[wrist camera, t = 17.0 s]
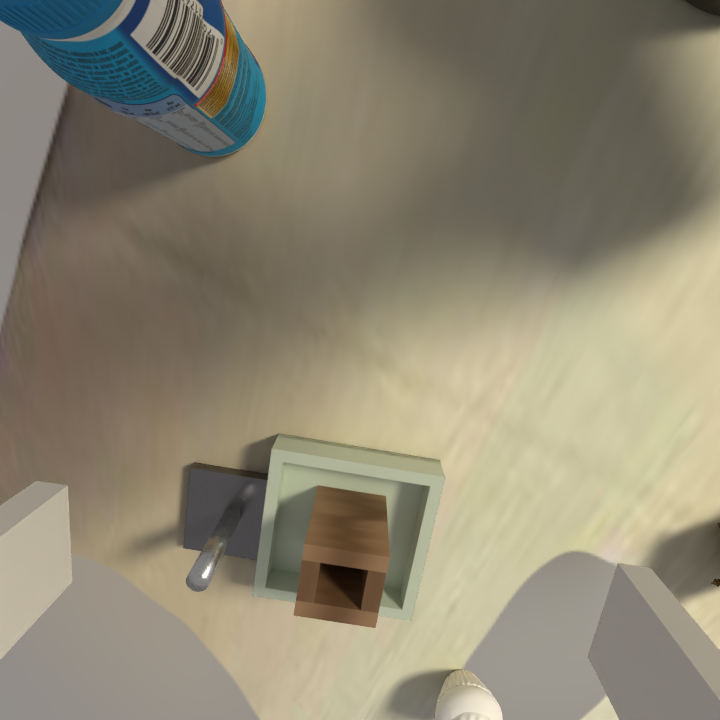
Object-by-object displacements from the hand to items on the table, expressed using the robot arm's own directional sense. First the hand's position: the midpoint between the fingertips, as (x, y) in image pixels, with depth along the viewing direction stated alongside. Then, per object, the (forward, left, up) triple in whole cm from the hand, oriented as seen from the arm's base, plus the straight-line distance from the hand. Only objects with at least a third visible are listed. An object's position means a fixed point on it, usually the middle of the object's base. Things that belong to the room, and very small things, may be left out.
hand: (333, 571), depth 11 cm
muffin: (-15, +32, -27) cm, 44 cm away
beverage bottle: (+14, -16, -26) cm, 34 cm away
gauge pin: (+9, +17, -26) cm, 32 cm away
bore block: (-1, +16, -26) cm, 30 cm away
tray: (-1, +16, -26) cm, 31 cm away
